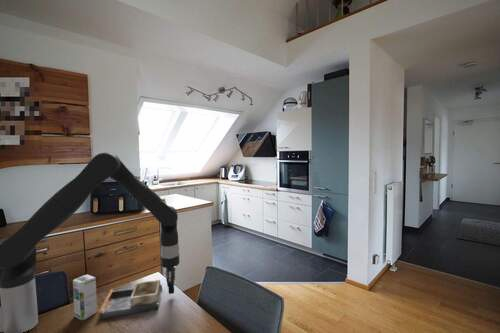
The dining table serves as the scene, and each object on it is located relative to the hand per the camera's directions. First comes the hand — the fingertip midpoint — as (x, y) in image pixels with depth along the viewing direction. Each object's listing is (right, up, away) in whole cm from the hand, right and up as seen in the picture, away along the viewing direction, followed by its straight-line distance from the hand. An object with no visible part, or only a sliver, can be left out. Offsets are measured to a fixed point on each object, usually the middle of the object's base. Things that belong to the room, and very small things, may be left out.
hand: (171, 292), depth 107 cm
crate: (-10, -2, -2) cm, 10 cm away
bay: (-15, -2, -4) cm, 16 cm away
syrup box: (-30, -3, -10) cm, 32 cm away
